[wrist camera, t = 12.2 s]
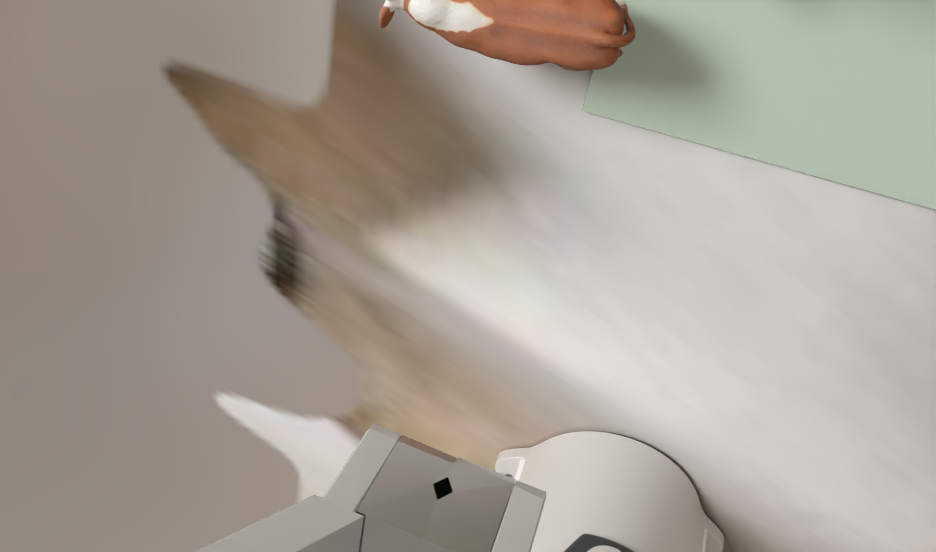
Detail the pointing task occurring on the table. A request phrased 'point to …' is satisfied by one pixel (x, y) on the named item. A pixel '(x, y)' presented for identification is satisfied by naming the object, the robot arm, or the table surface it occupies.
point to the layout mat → (787, 85)
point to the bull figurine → (527, 28)
